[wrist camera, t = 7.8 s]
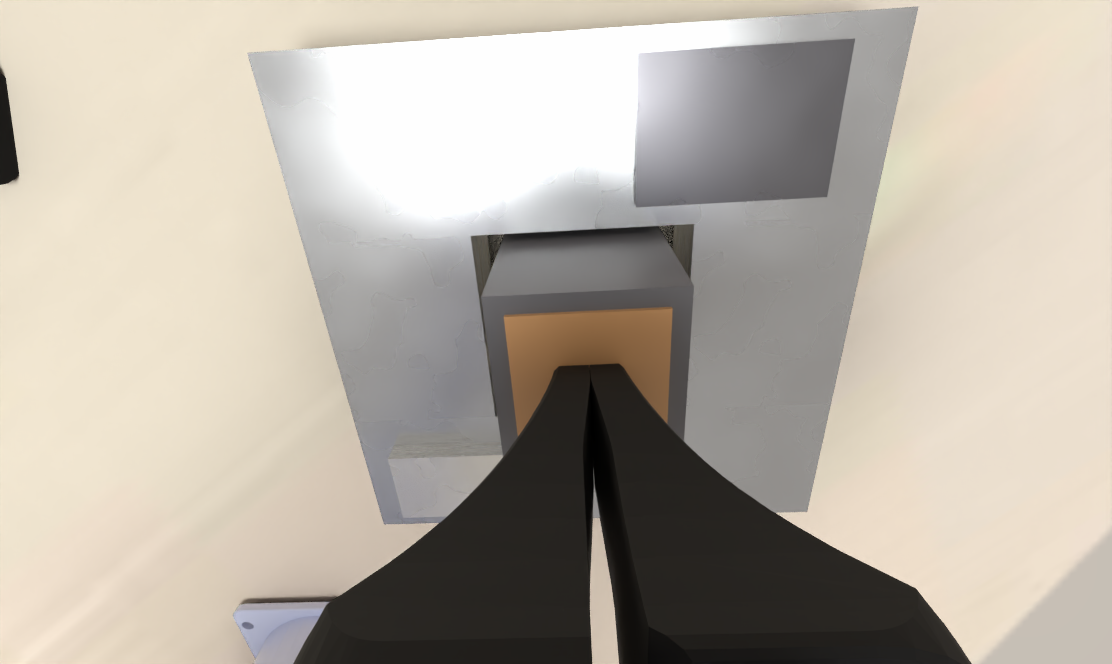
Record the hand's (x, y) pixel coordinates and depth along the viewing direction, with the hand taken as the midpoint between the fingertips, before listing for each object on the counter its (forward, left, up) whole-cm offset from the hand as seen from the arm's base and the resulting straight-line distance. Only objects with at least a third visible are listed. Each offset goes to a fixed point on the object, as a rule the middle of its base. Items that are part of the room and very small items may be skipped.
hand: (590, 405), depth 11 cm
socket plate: (0, 0, -6) cm, 6 cm away
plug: (0, 0, -6) cm, 6 cm away
